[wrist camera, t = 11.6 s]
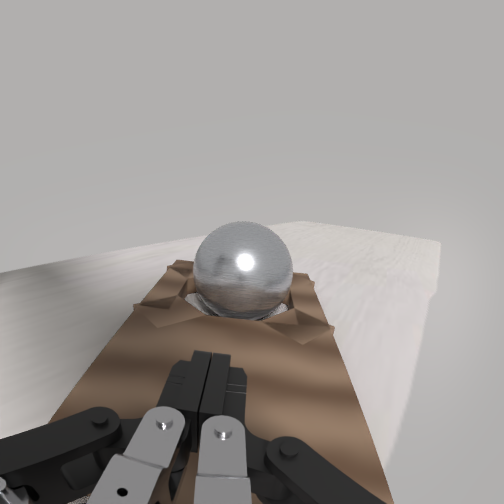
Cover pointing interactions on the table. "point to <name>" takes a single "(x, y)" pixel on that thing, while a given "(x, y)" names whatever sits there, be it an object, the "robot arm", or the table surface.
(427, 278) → the table surface
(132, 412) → the wooden board
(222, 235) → the steel ball
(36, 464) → the robot arm
